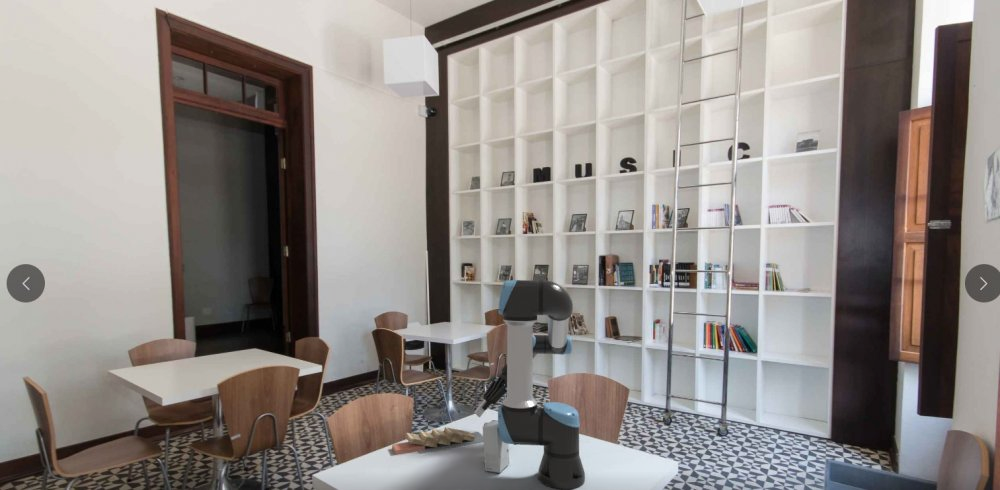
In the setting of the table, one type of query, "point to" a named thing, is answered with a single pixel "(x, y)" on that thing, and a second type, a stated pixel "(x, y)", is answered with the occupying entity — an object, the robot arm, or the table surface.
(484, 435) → the skincare box
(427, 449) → the mat
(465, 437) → the domino
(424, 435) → the domino
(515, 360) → the robot arm
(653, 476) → the table surface
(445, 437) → the domino
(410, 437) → the domino
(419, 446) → the domino
